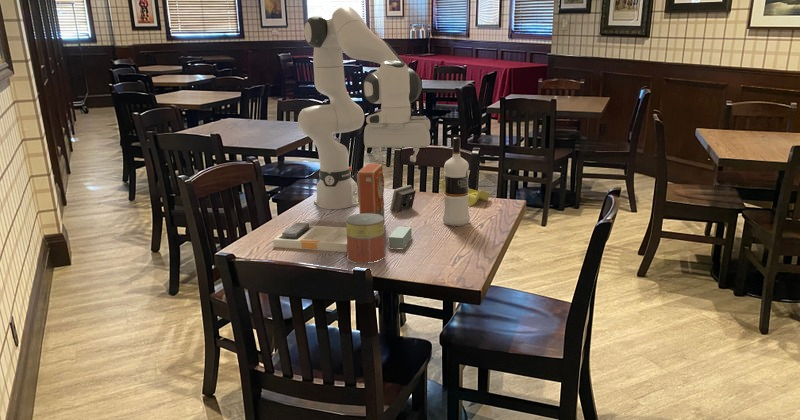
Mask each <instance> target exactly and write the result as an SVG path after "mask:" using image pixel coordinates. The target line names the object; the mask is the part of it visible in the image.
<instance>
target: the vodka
mask: <svg viewBox="0 0 800 420" xmlns="http://www.w3.org/2000/svg"><path fill="white" fill-rule="evenodd" d="M443 168H444V169H443V170H444V173H443V175H444V180H445V194H444V210H443V211H444V213H443V216H442V221H443V223H444V224H445V225H447V226H452V227H463V226H465V225H468V224H469V223H470V221H471V220H470V219H471V216H470V213H469V206H468V197H469V195H468V188H469V168H470V164H469V162H468V161H467V159H464V158H463V157H461V137H457V136H456V137H453V138H452V157H450V158H449V159H447V160H446V161H445V163H444V166H443Z"/></svg>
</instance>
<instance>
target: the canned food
mask: <svg viewBox="0 0 800 420" xmlns="http://www.w3.org/2000/svg"><path fill="white" fill-rule="evenodd" d="M384 219H385V216H384V217H383V216H382V215H379V214H374V213H361V214H360V213H356V214H351V215H349V216H347V217H345V225H346V227H345V228H346V229H347V248H348V251H347V252H348V253H347V260H348V261H350V262H352V263H354V262H356V263H355V264H360V263H368V262H374V261H377V260H380V259H382V258H384V257H385V258H386V250H385V249H386V248H385V243H386V241H385V221H384ZM385 258H384V259H385ZM368 264H369V263H368Z"/></svg>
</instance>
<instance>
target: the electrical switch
mask: <svg viewBox="0 0 800 420" xmlns="http://www.w3.org/2000/svg"><path fill="white" fill-rule="evenodd" d="M416 191H417V190H416V189H414V188H413V185H411V184H409V185H405V186H401V187H398V188H394V190H393V193H392V199H391V202H390V203H391V204H390V208H389V210H390V212H391V213H392V212H396V213H397V214H400V213H403V212H405V211H409V210H412V208H413V206H414V205H413V204H414V201H415V196H416V193H417V192H416ZM402 211H403V212H402ZM399 212H400V213H399Z"/></svg>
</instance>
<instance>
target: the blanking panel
mask: <svg viewBox="0 0 800 420" xmlns="http://www.w3.org/2000/svg"><path fill="white" fill-rule="evenodd" d="M412 238H413V235H412V226H403V225H402V226H399V225H398V226H397V227H396V228H395V229H394V230H393V231H392V233H391V234H389V236H388V248H389V247H390V248H404V247H406V246H407V245H406V244H407V243H408V244H409V242H410V241H411V239H412ZM409 240H410V241H409ZM405 245H406V246H405ZM390 248H389V249H390ZM404 249H405V248H404Z"/></svg>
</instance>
